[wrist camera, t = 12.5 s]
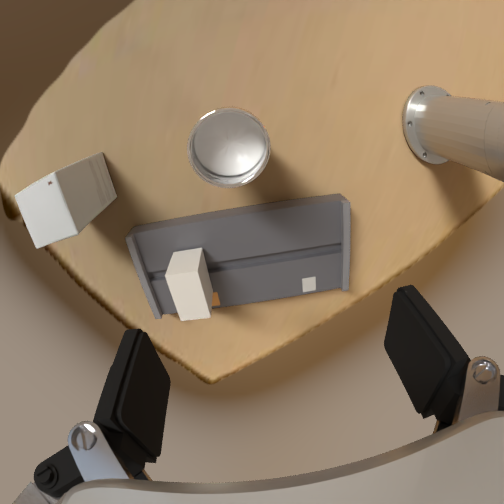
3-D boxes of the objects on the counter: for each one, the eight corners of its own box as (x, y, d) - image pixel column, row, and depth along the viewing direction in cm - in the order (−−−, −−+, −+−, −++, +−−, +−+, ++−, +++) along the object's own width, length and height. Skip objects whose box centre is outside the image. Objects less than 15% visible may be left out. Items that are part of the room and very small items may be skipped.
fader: (202, 243, 39) (197, 270, 33) (213, 285, 42) (210, 317, 36) (175, 248, 39) (164, 275, 33) (187, 289, 42) (180, 320, 36)
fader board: (339, 193, 39) (350, 202, 36) (340, 276, 46) (348, 290, 42) (133, 226, 39) (124, 238, 36) (160, 303, 46) (155, 319, 42)
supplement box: (63, 167, 34) (12, 193, 23) (103, 150, 34) (55, 170, 23) (79, 212, 38) (35, 250, 26) (118, 198, 37) (79, 235, 26)
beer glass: (255, 162, 37) (269, 193, 23) (201, 160, 36) (183, 189, 23) (259, 110, 33) (277, 108, 20) (204, 107, 33) (186, 104, 19)
